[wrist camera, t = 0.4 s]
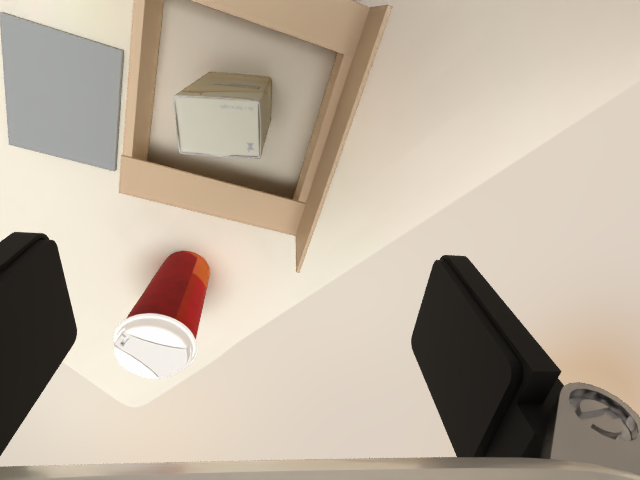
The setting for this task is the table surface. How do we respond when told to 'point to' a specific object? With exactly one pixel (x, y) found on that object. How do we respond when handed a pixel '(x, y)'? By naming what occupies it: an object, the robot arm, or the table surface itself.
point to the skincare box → (224, 115)
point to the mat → (61, 92)
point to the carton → (329, 132)
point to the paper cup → (164, 319)
